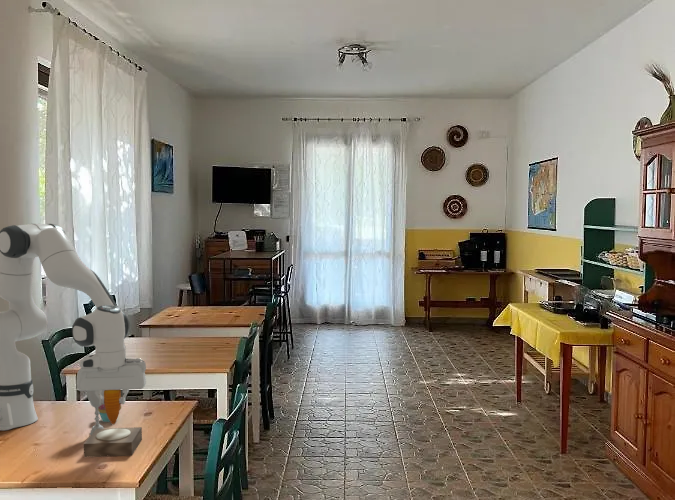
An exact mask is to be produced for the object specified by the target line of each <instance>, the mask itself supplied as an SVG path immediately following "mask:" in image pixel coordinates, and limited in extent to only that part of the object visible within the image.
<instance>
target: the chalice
mask: <svg viewBox="0 0 675 500" xmlns="http://www.w3.org/2000/svg"><path fill="white" fill-rule="evenodd" d="M104 391H105V390H102V392H101V395H102V397H103V398H104ZM85 393H86V397H87V399H88V401H89V403H90V405H91V406H92V408H94V409H95V411H94V415H95V418H94V421H95V424H94V425H93V426H92V427H91V430H90V432H89V435H90V436H91V435H92V434H93V432H94V431H95V430H96V429H104V428H105V427H104V425H102V424H100V420H101V417H100V414H99V411H98V407H99V406H101V405H100V404H99V399H98V397H97V396H96V394H95V391H85Z"/></svg>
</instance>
